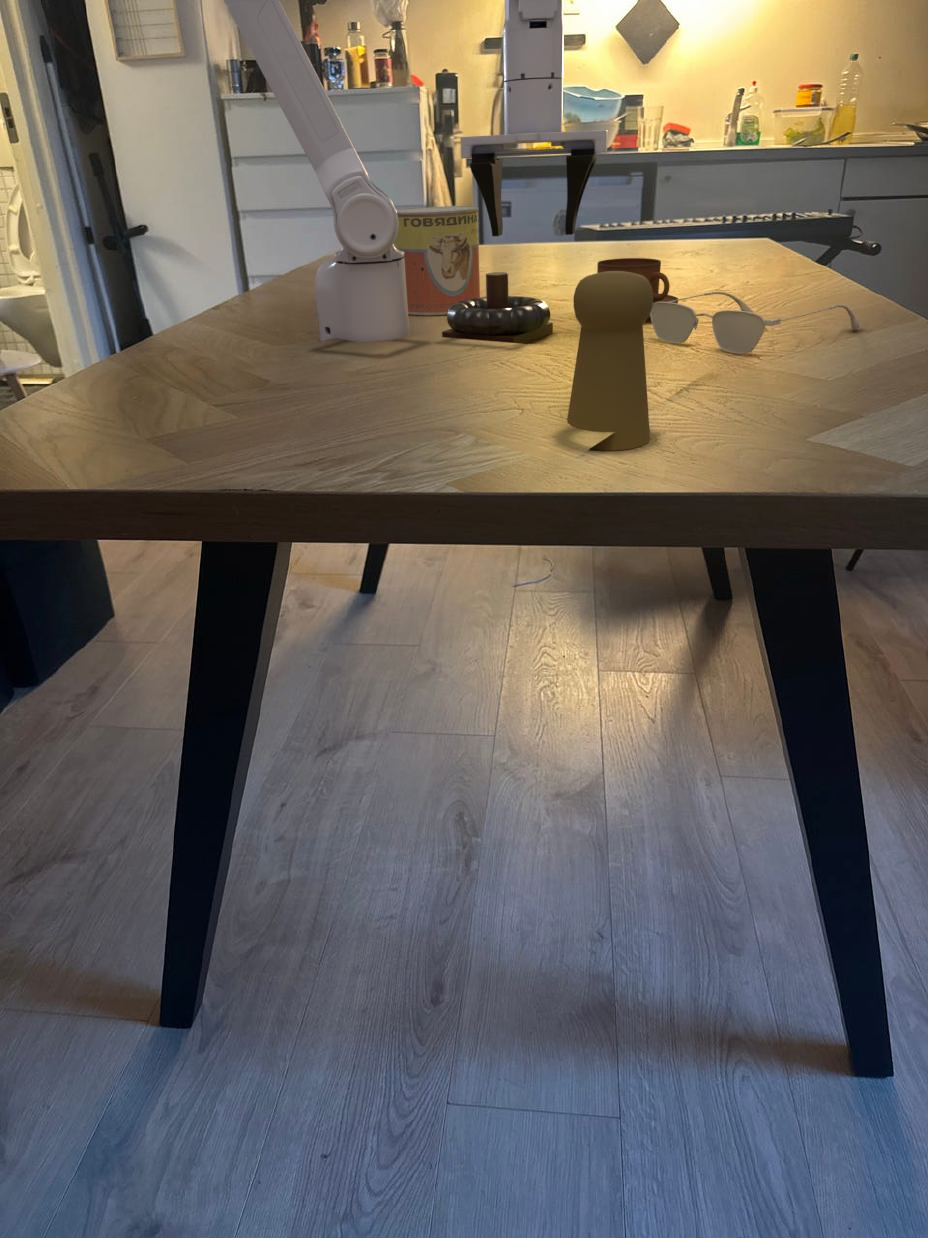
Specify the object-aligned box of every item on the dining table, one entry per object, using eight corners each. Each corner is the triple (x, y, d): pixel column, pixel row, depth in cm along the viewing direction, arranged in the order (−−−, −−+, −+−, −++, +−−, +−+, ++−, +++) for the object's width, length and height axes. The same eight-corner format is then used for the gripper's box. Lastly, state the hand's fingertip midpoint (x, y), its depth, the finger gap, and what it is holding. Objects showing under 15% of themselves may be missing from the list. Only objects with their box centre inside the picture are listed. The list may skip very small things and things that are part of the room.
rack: (442, 342, 94) (438, 277, 90) (484, 328, 100) (482, 266, 97) (513, 348, 89) (512, 280, 86) (553, 333, 96) (553, 269, 92)
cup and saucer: (691, 311, 105) (696, 256, 102) (655, 328, 96) (658, 269, 93) (601, 306, 110) (603, 254, 107) (559, 322, 102) (560, 266, 99)
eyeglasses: (641, 338, 91) (643, 299, 89) (743, 315, 101) (747, 279, 99) (766, 359, 80) (771, 314, 78) (867, 330, 90) (875, 290, 88)
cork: (557, 428, 63) (559, 269, 58) (637, 423, 64) (647, 264, 58) (573, 453, 58) (577, 280, 53) (660, 447, 58) (673, 275, 53)
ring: (428, 333, 92) (427, 308, 91) (478, 316, 101) (478, 292, 99) (521, 339, 87) (521, 313, 86) (566, 320, 95) (566, 296, 94)
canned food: (415, 318, 108) (409, 213, 102) (385, 307, 117) (377, 210, 111) (495, 309, 112) (493, 207, 106) (460, 298, 121) (456, 204, 115)
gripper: (450, 83, 81) (456, 239, 87) (604, 73, 77) (599, 236, 84) (467, 87, 87) (472, 233, 93) (611, 78, 83) (606, 230, 90)
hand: (533, 234), depth 89 cm, fingers open, 7 cm apart
